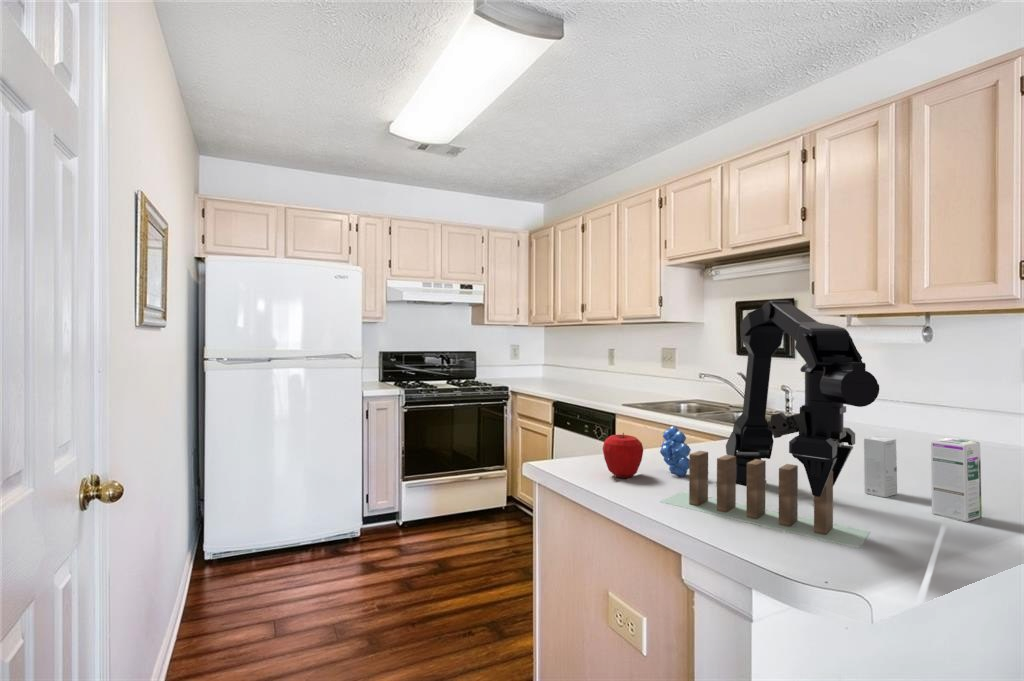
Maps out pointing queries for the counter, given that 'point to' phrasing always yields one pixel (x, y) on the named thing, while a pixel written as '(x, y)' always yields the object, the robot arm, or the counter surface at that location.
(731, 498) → the domino
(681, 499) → the board
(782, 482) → the domino
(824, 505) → the domino
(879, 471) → the skincare box
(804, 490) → the counter surface
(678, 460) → the grapes
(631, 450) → the apple
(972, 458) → the syrup box
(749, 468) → the domino
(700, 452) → the domino
